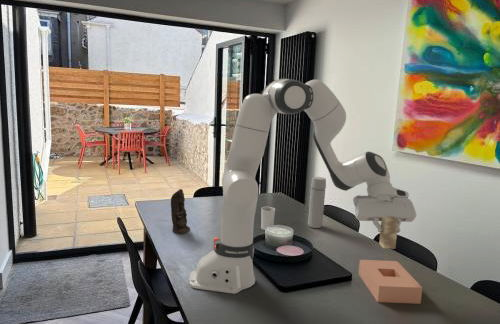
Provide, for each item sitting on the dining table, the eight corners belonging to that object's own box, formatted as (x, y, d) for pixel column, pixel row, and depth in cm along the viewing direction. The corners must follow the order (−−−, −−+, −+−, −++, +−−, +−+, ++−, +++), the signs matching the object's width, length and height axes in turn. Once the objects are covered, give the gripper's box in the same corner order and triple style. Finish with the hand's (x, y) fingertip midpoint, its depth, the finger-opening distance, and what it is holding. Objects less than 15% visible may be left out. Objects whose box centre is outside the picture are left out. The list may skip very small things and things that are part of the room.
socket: (377, 302, 121) (379, 286, 120) (358, 273, 141) (359, 259, 140) (420, 303, 121) (422, 287, 121) (395, 275, 141) (397, 261, 140)
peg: (383, 248, 126) (386, 219, 125) (379, 243, 130) (381, 216, 129) (395, 248, 126) (398, 220, 125) (390, 244, 130) (393, 216, 129)
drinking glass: (276, 228, 185) (277, 209, 184) (268, 231, 180) (269, 211, 179) (266, 225, 190) (267, 205, 188) (257, 228, 185) (258, 208, 183)
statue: (183, 234, 171) (184, 191, 167) (169, 232, 173) (170, 189, 170) (190, 230, 177) (191, 188, 174) (177, 227, 179) (177, 186, 176)
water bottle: (322, 229, 188) (327, 180, 184) (306, 227, 189) (310, 178, 185) (322, 223, 197) (327, 176, 192) (307, 222, 198) (311, 175, 194)
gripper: (354, 190, 132) (361, 227, 124) (412, 192, 132) (422, 228, 124) (350, 199, 137) (356, 235, 129) (405, 201, 138) (415, 236, 130)
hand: (389, 231), depth 127 cm, fingers closed on peg, 4 cm apart
